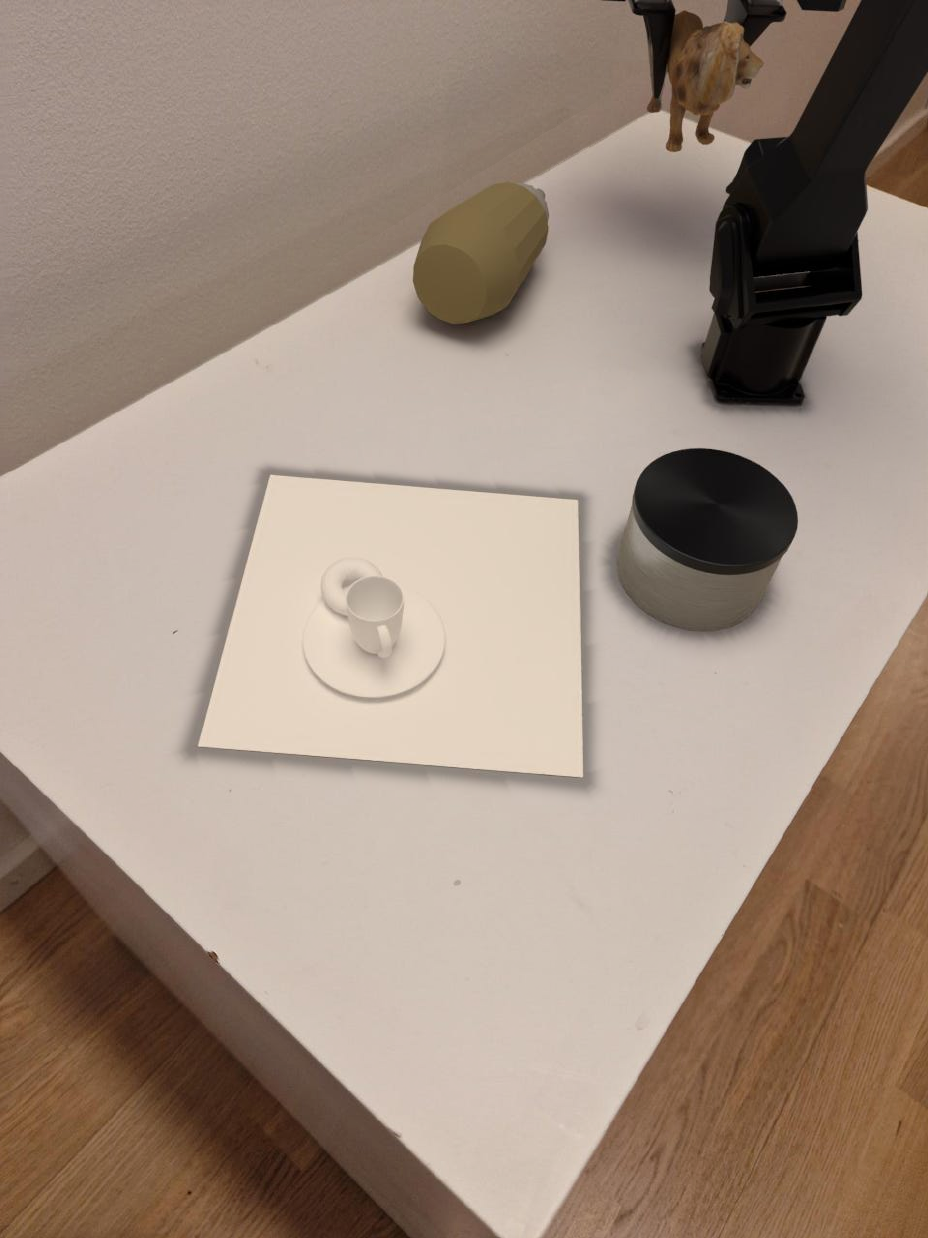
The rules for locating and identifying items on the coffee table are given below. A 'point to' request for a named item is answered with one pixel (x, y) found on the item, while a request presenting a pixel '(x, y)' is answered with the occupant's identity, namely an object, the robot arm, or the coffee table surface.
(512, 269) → the squeeze bottle
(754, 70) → the lion figurine
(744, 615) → the steel canister
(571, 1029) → the coffee table surface
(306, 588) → the teacup and saucer
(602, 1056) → the coffee table surface
